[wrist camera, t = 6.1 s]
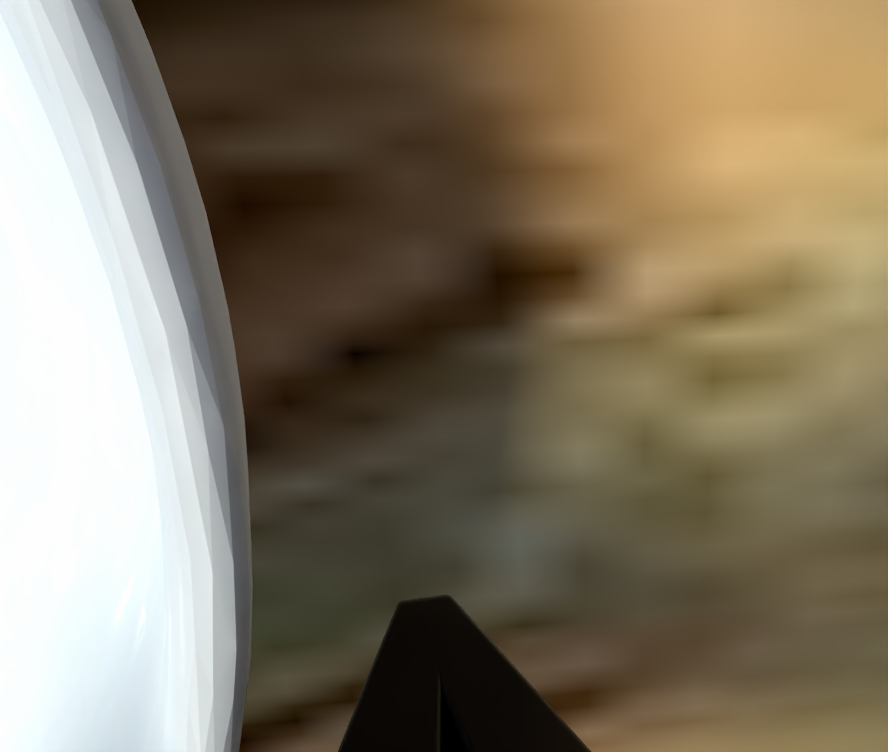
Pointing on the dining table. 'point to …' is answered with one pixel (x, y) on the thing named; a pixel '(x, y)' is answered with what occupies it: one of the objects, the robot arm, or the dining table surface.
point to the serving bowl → (113, 406)
